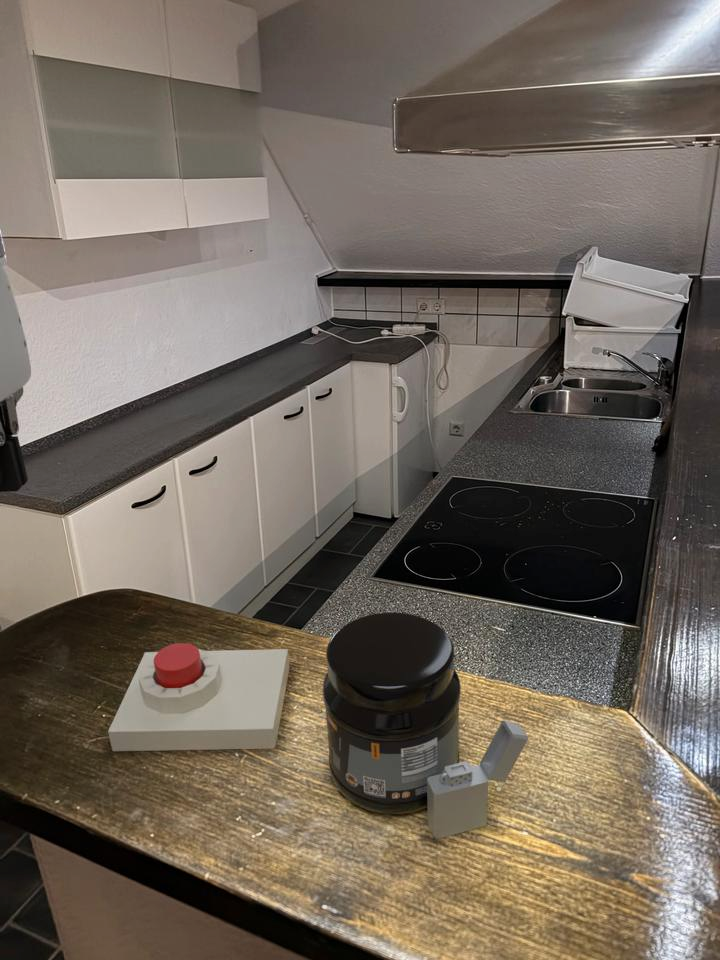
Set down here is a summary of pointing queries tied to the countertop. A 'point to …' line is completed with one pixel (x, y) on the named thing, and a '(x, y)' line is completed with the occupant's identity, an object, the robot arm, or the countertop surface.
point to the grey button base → (205, 705)
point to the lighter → (472, 784)
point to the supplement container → (390, 710)
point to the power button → (178, 665)
